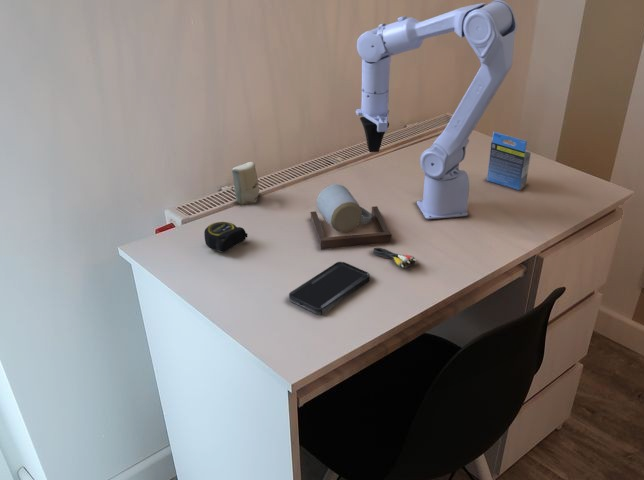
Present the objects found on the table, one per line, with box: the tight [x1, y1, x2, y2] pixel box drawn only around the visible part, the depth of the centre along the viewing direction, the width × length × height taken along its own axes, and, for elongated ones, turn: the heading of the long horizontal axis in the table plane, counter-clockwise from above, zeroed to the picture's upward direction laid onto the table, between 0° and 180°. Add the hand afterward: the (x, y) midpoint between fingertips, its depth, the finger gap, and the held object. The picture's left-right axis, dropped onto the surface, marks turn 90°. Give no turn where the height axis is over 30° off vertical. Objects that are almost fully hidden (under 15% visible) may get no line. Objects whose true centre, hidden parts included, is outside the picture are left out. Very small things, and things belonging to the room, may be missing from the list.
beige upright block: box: [231, 161, 260, 206], centre depth 155 cm, size 6×5×8 cm
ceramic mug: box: [316, 183, 373, 233], centre depth 149 cm, size 11×8×8 cm
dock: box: [309, 205, 392, 250], centre depth 148 cm, size 14×12×2 cm
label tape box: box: [486, 130, 532, 191], centre depth 167 cm, size 9×4×12 cm, turn 58°
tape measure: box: [203, 221, 248, 253], centre depth 141 cm, size 7×7×4 cm
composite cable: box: [372, 247, 417, 270], centre depth 140 cm, size 10×5×2 cm, turn 42°
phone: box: [288, 261, 371, 315], centre depth 131 cm, size 8×1×15 cm
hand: (373, 151), depth 159 cm, fingers closed
